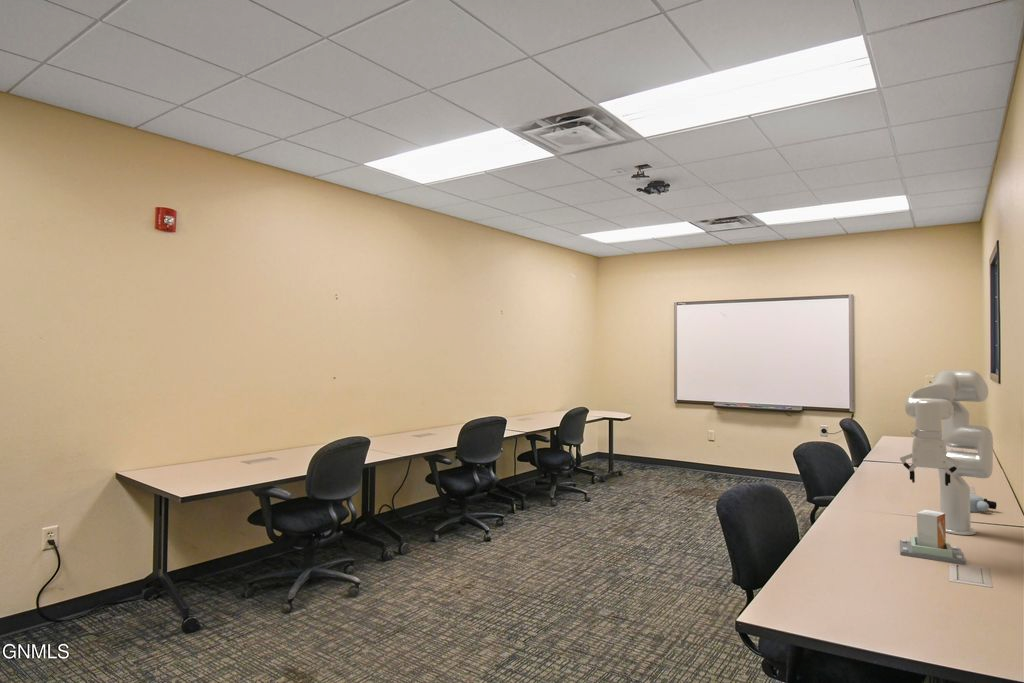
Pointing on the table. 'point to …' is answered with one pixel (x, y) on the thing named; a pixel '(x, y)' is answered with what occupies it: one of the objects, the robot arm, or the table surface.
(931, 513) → the small box
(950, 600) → the table surface
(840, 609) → the table surface
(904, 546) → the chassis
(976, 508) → the figurine
